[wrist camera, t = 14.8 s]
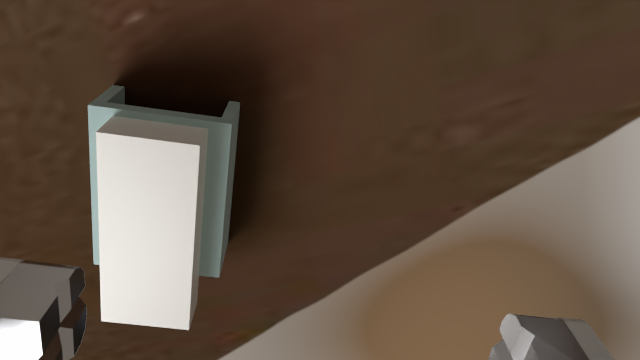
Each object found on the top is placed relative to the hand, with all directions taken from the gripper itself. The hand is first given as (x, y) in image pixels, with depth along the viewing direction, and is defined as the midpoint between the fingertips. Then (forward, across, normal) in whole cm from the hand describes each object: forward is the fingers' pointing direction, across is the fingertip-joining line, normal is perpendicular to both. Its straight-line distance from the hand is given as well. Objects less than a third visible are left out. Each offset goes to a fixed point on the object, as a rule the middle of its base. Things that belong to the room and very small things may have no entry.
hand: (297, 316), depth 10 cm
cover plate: (+24, +8, +13) cm, 28 cm away
